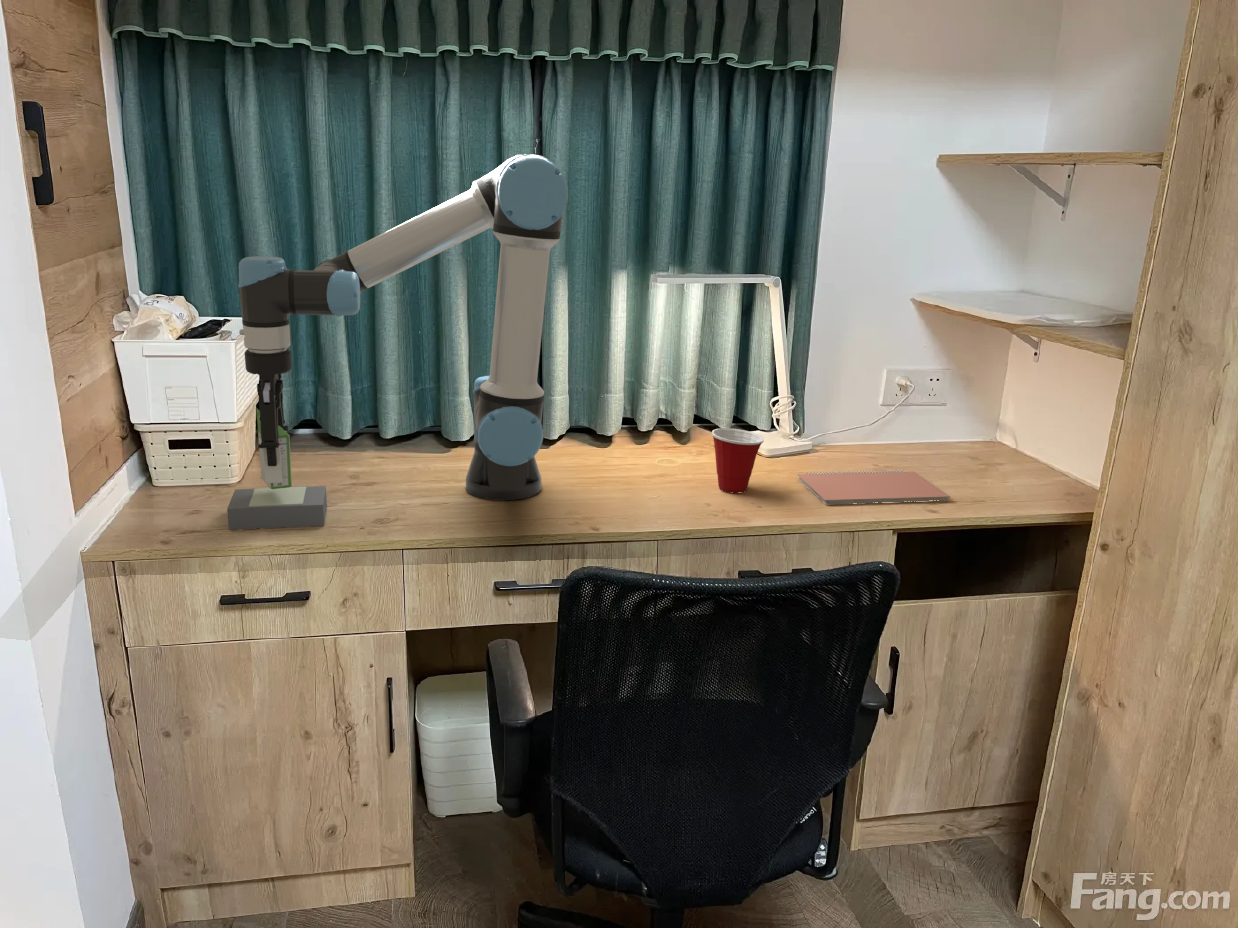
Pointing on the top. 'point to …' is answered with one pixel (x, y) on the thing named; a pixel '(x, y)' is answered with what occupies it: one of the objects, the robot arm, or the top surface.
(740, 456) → the plastic cup
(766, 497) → the top surface
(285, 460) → the ink box
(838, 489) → the notebook
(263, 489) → the plinth
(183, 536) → the top surface
